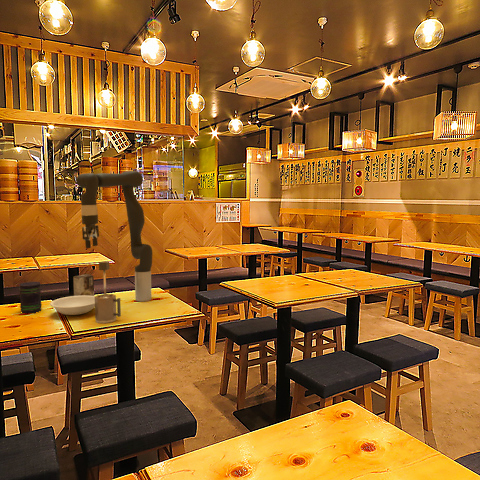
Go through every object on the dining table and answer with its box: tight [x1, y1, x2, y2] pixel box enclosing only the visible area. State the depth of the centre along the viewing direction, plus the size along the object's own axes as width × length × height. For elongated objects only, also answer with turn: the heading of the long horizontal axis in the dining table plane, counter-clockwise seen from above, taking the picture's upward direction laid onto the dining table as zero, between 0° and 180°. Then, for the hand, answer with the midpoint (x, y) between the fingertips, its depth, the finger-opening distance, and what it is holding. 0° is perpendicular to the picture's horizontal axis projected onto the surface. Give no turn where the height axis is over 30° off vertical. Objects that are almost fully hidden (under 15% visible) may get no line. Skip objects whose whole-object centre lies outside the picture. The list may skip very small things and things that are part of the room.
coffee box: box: [72, 273, 95, 296], centre depth 219 cm, size 9×6×16 cm
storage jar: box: [19, 281, 42, 314], centre depth 203 cm, size 10×10×15 cm
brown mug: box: [94, 293, 122, 324], centre depth 189 cm, size 10×12×12 cm
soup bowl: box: [49, 295, 97, 316], centre depth 201 cm, size 24×24×7 cm
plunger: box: [98, 261, 112, 298], centre depth 187 cm, size 6×6×18 cm
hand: (91, 247), depth 192 cm, fingers open, 8 cm apart
